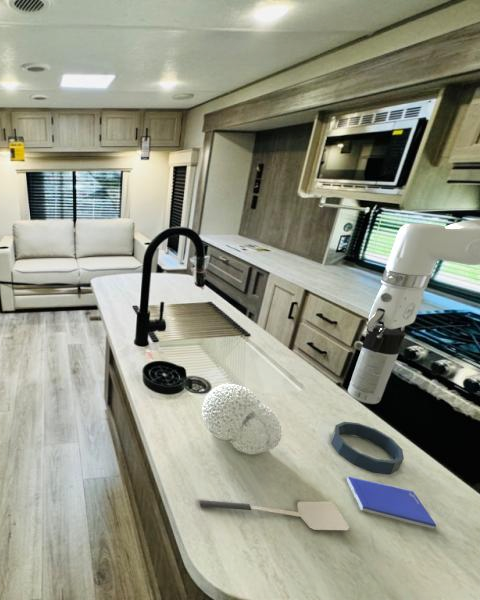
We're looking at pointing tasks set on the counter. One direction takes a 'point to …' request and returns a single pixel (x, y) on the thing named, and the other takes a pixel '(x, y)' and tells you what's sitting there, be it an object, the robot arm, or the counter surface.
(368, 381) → the spray can
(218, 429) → the white textured rounded lump
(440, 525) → the counter surface
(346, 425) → the faceted blue ring
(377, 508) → the hard drive
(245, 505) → the spatula
